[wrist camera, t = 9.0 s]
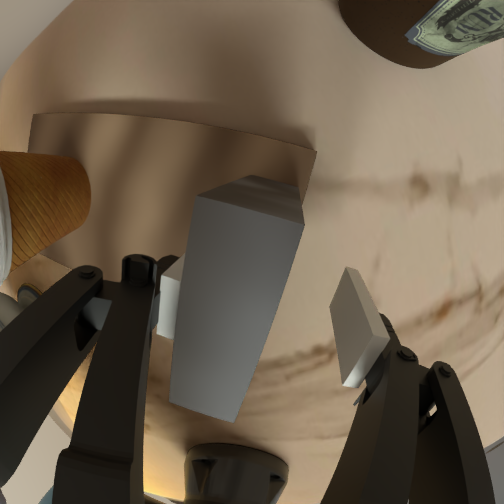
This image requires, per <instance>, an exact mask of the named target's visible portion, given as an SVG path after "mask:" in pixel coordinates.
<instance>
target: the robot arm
mask: <svg viewBox="0 0 504 504" xmlns="http://www.w3.org/2000/svg"><path fill="white" fill-rule="evenodd" d="M184 259H185V254H184V255H183V256H181V257H177V256H174V255H168V256H164V257H162V258H161V259H159V260H158V261H156V260H155V259H154V258H152V257H150V256H147V255H143V254H130V255H127V256H125V257H124V258H123V259H122V273H121V281H120V282H114V281H108V280H103V271H102V270H101V269H100V268H98V267H96V266H91V265H83V266H78V267H76V268H75V269H73V270H72V271H70V272H69V273H68V274H67V275H65V276H64V277H63V278H61V279H60V280H59V281H58V282H56V283H55V284H54V285H53V286H52V287H50V288H49V289H48V290H47V291H45V292H44V293H43V294H42V295H41V296H39V297H38V298H37V299H36V300H35V301H34V302H32V303H31V304H30V305H29V306H28V307H27V308H26V309H24V310H23V311H22V312H21V313H20V314H19V315H18V316H17V317H15V318H14V319H13V320H12V321H11V322H10V323H9V324H8V325H7V326H6V327H5V328H4V329H3V330H2V331H0V504H6V499H5V497H4V495H3V494H2V491H1V487H2V486H4V485H5V484H6V483H7V481H8V480H9V479H10V478H11V476H12V475H13V474H14V472H15V471H16V469H17V467H18V466H19V464H20V462H21V460H22V458H23V457H24V454H25V453H26V451H27V449H28V447H29V446H30V444H31V442H32V440H33V438H34V437H35V435H36V433H37V432H38V430H39V428H40V426H41V425H42V423H43V421H44V420H45V418H46V417H47V415H48V413H49V412H50V410H51V409H52V407H53V405H54V404H55V402H56V401H57V399H58V398H59V396H60V394H61V393H62V391H63V390H64V388H65V387H66V385H67V384H68V382H69V381H70V379H71V378H72V376H73V375H74V373H75V372H76V371H77V369H78V368H79V366H80V365H81V363H82V362H83V360H84V359H85V358H86V356H87V355H88V353H89V352H90V351H91V349H92V348H93V346H94V345H95V344H96V342H97V344H96V347H95V350H94V353H93V356H92V360H91V363H90V366H89V369H88V373H87V376H86V380H85V383H84V387H83V390H82V394H81V398H80V402H79V406H78V410H77V414H76V419H75V423H74V428H73V433H72V438H71V442H70V445H69V447H68V448H66V449H63V450H62V451H61V453H60V454H59V457H58V460H57V465H56V471H55V478H54V485H53V486H52V488H51V489H50V490H49V491H48V492H47V493H46V494H45V496H44V497H43V498H42V499H41V501H40V502H39V504H165V503H163V502H161V501H158V500H156V499H154V498H151V497H149V496H147V495H145V494H144V491H143V438H144V416H145V400H146V388H147V377H148V367H149V358H150V349H151V341H152V329H153V328H154V327H155V326H156V324H157V334H159V335H161V336H164V337H166V338H169V339H172V340H174V335H175V326H176V317H177V309H178V301H179V293H180V286H181V279H182V272H183V265H184ZM330 313H331V318H332V323H333V329H334V335H335V341H336V347H337V353H338V359H339V366H340V372H341V379H342V386H347V387H354V388H359V386H360V385H361V384H362V382H363V381H364V379H365V380H366V384H367V386H366V388H365V389H364V390H363V392H362V393H361V394H360V396H359V397H358V398H357V400H356V401H355V403H354V404H353V405H354V406H355V405H356V404H357V403H358V402H359V404H358V407H357V411H356V414H355V417H354V420H353V423H352V427H351V430H350V432H349V435H348V438H347V441H346V444H345V447H344V449H343V452H342V455H341V457H340V460H339V462H338V465H337V467H336V470H335V472H334V474H333V477H332V479H331V481H330V484H329V486H328V488H327V490H326V492H325V495H324V497H323V499H322V501H321V503H320V504H407V502H408V498H409V504H495V498H494V492H493V486H492V482H491V477H490V473H489V468H488V464H487V460H486V456H485V453H484V449H483V446H482V442H481V439H480V436H479V433H478V430H477V427H476V424H475V421H474V418H473V415H472V412H471V410H470V407H469V404H468V402H467V399H466V397H465V394H464V392H463V389H462V387H461V384H460V382H459V380H458V377H457V375H456V373H455V371H454V370H453V369H452V368H451V366H450V365H449V364H447V363H444V362H441V361H436V362H434V364H433V365H432V367H431V368H430V369H429V368H426V367H424V366H421V365H419V363H418V358H417V356H416V355H415V353H414V352H413V351H411V350H410V349H409V348H407V347H405V346H401V344H400V342H399V340H398V337H397V335H396V333H395V331H394V329H393V328H392V325H391V323H390V321H389V320H388V319H387V317H386V316H385V315H384V314H381V313H379V312H378V310H377V308H376V306H375V304H374V302H373V300H372V298H371V296H370V293H369V291H368V289H367V287H366V285H365V283H364V281H363V279H362V277H361V275H360V273H359V272H358V270H356V269H353V268H349V267H346V268H345V270H344V273H343V275H342V278H341V280H340V283H339V285H338V288H337V290H336V292H335V295H334V297H333V300H332V302H331V304H330ZM435 404H436V407H437V411H436V412H435V413H434V414H433V415H432V416H430V413H429V411H430V410H431V409H432V408H433V407H434V405H435ZM288 472H289V469H288V466H287V465H286V464H285V463H284V462H283V461H282V460H280V459H279V458H277V457H275V456H273V455H270V454H268V453H265V452H262V451H259V450H255V449H251V448H247V447H242V446H236V445H228V444H203V445H198V446H195V447H193V448H191V449H190V450H189V452H188V454H187V457H186V460H185V463H184V476H185V499H184V502H183V504H276V503H277V501H278V499H279V497H280V496H281V494H282V492H283V490H284V488H285V486H286V484H287V481H288Z"/></svg>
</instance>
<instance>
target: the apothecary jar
mask: <svg viewBox="0 0 504 504" xmlns="http://www.w3.org/2000/svg"><path fill="white" fill-rule="evenodd" d="M41 295H42V293H41V292H40V291H39V290H38V289H37V288H36V287H34V286H33V285H31V284H23V285H22V286H21V287H20V288H19V290H18V302H17V301H16V300H14V299H13V298H12V297H10V296H8V295H6V294H4V293H1V292H0V331H2V330H3V329H4V328H5V327H6V326H7V325H8V324H9V323H10V322H11V321H12V320H13V319H14V318H15V317H17V316H18V315H19V314H20V313H21V312H22V311H23V310H24V309H26V308H27V307H28V306H29V305H30V304H31V303H32V302H34V301H35V300H36V299H37V298H38V297H39V296H41Z"/></svg>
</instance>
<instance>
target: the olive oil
mask: <svg viewBox="0 0 504 504" xmlns="http://www.w3.org/2000/svg"><path fill="white" fill-rule="evenodd" d="M339 7H340V11H341V14H342V16H343V19H344V20H345V22H346V24H347V25H348V27H349V28H350V30H351V31H352V32H353V33H354V34H355V35H356V37H357V38H358V39H359V40H361V41H362V42H363V43H364V44H365V45H366V46H367V47H369V48H370V49H371V50H373V51H374V52H376V53H377V54H379V55H381V56H382V57H384V58H386V59H388V60H390V61H392V62H394V63H397V64H400V65H403V66H406V67H411V68H418V69H425V68H432V67H435V66H438V65H440V64H442V63H444V62H446V61H448V60H450V59H453V58H455V57H457V56H459V55H461V54H464V53H466V52H468V51H470V50H473V49H475V48H477V47H480V46H482V45H485V44H487V43H490V42H493V41H495V40H498V39H501V38H504V0H339Z"/></svg>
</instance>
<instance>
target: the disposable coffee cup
mask: <svg viewBox="0 0 504 504" xmlns="http://www.w3.org/2000/svg"><path fill="white" fill-rule="evenodd" d="M90 204H91V186H90V182H89V178H88V175H87V173H86V171H85V169H84V168H83V166H82V164H81V163H79V161H78V160H76V159H74V158H72V157H67V156H58V155H48V154H37V153H24V152H9V151H0V286H1V285H2V284H3V281H4V280H5V279H6V278H7V276H8V274H9V273H10V272H12V271H13V270H14V269H16V268H17V267H19V266H20V265H21V264H23V263H24V262H25V261H27V260H29V259H30V258H31V257H33V256H35V255H36V254H38V253H39V252H41V251H42V250H44V249H45V248H47V247H48V246H50V245H51V244H53V243H55V242H56V241H57V240H59V239H61V238H63V237H64V236H66V235H68V234H69V233H71V232H73V231H74V230H76V229H78V228H79V227H81V226H82V225H83V223H84V222H85V220H86V219H87V218H86V217H88V214H89V211H90V206H91V205H90Z"/></svg>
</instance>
